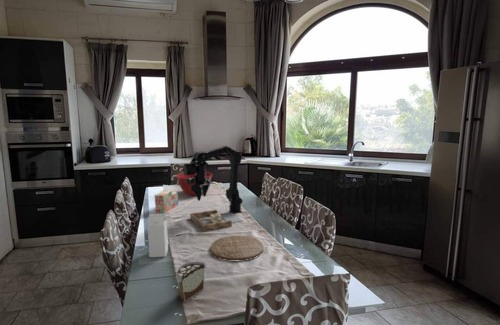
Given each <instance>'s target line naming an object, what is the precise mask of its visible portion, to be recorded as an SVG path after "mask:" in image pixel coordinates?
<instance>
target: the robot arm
mask: <svg viewBox="0 0 500 325" xmlns="http://www.w3.org/2000/svg"><path fill="white" fill-rule="evenodd" d="M223 154H225V155H226V156H227V157H228V161H229V163H230V175H229V188H227V189H226V190H225V196H226V199H227V200H228V202H229V207H228V208H229V212H230V213H231V214H238V213H242V212H243V211H242V210H241V209H242V208H241V206H242V205H241V204H243V202H244V200H243V199H242V198H241V197H240V192H239V189H238V181H239V180H238V177H239V176H238V175H239V165H240V164H241V162H242V159H243V158H242V157H243V156H242V153H241V152H240V151H237V150H235V149H233V148H231V147H230V146H229V145H222V146H220V147H216V148H213V149H210V150H202V151H195V153H194V154H193V157H192V158H191V160H190V162H189V163H185V162H184V163H183V166H182V173H183V174H184V175H192V174H195V173H196V175H195V176H194V178H188V179H187V181H186V183H187V184H188V185H190V184H193V183H194V185H192V186H191V190H192V191H193V192H195V194H196V195H195V196H196V199H197V201H198V202H200V201H201V200H202V199H201V198H202V195H203V197H206V196H207V193H208V192H209V188H210V186H211V184H212V181H211V180H212V179H211V180H210V179H206V176H207V174H206V173H205V172H206V166H209V163H208V160H210V159H211V158H213V157H217V156H221V155H223ZM202 192H203V194H202Z"/></svg>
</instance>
